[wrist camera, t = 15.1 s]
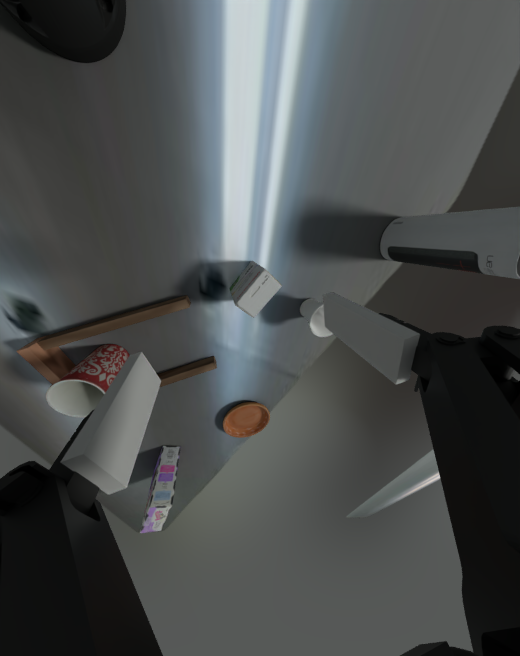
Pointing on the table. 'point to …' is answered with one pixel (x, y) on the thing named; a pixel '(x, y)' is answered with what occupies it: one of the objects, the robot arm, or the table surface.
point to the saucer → (246, 419)
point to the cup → (315, 317)
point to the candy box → (161, 490)
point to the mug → (87, 381)
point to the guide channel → (57, 364)
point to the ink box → (254, 289)
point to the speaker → (458, 241)
